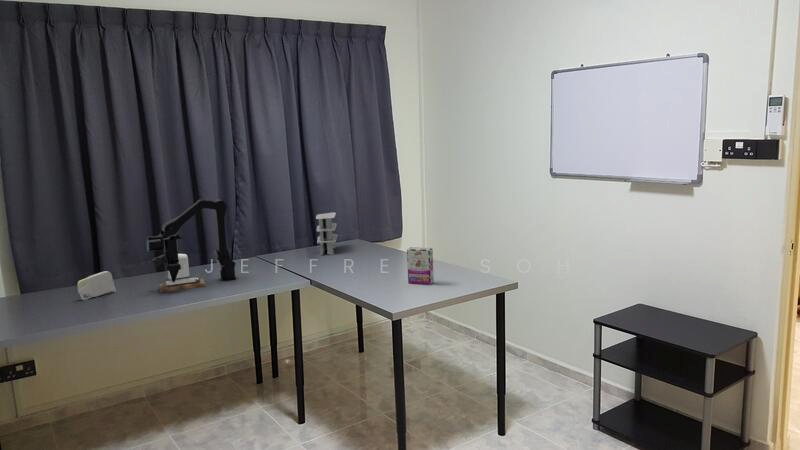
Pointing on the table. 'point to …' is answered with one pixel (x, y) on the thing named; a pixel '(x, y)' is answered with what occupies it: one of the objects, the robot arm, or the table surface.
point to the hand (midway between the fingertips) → (173, 281)
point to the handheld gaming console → (96, 285)
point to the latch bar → (181, 281)
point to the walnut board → (182, 286)
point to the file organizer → (326, 232)
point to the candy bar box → (420, 265)
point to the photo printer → (182, 267)
